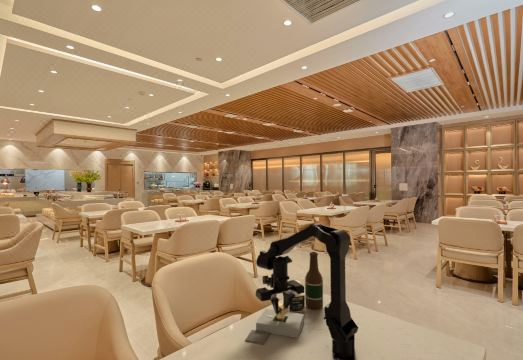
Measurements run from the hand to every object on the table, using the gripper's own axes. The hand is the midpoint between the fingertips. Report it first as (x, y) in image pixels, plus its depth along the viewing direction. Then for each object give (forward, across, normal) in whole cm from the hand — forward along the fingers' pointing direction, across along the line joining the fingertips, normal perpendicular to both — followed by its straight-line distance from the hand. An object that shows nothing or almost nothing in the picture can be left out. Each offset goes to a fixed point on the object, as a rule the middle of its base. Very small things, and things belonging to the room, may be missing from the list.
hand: (280, 312), depth 108 cm
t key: (+4, 0, 0) cm, 4 cm away
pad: (+5, +11, +3) cm, 13 cm away
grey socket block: (+5, 0, 0) cm, 5 cm away
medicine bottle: (+5, -12, -10) cm, 17 cm away
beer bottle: (+5, -22, -9) cm, 24 cm away
